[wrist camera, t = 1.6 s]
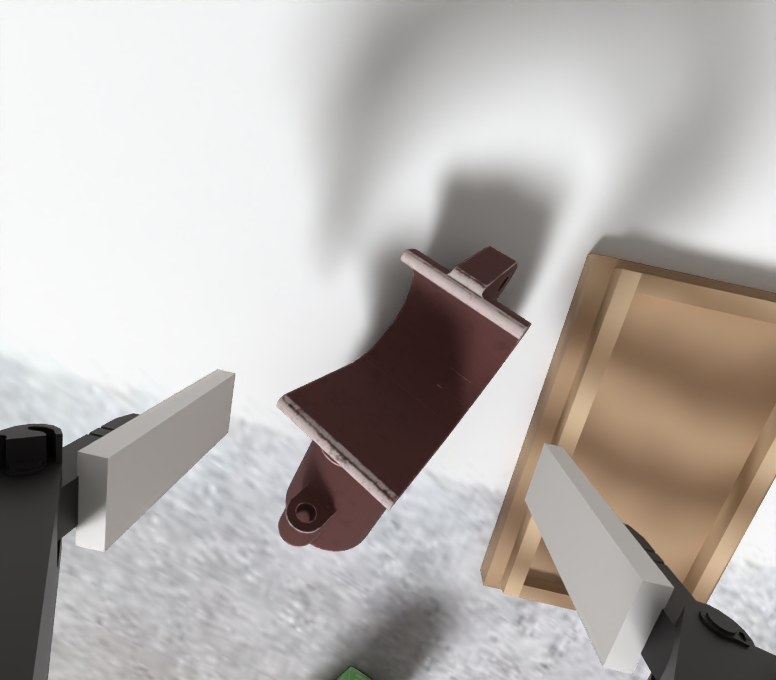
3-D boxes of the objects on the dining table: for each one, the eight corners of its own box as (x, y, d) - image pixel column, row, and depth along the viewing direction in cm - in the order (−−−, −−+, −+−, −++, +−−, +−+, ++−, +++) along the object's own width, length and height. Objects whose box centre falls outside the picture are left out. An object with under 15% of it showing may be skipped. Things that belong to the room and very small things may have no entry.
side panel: (588, 254, 20) (606, 254, 18) (839, 309, 20) (884, 315, 18) (480, 570, 26) (485, 596, 24) (677, 615, 26) (699, 645, 24)
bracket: (561, 285, 18) (530, 317, 10) (406, 494, 26) (311, 615, 17) (459, 225, 20) (358, 207, 12) (342, 436, 27) (227, 520, 19)
